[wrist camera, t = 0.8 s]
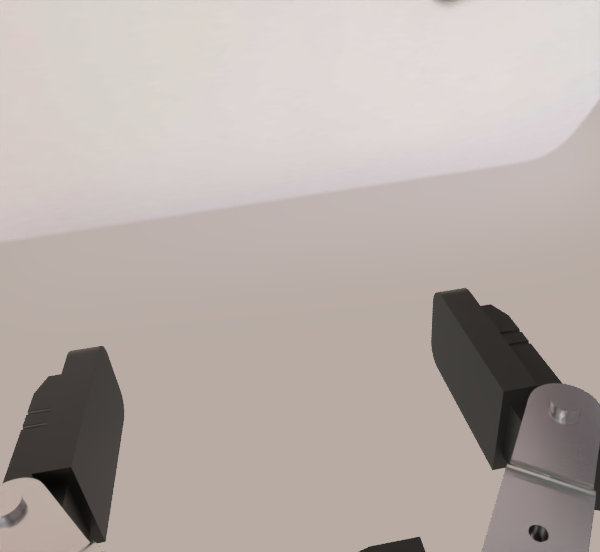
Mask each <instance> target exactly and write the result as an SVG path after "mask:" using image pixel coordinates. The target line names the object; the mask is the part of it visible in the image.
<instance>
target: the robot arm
mask: <svg viewBox="0 0 600 552" xmlns="http://www.w3.org/2000/svg"><path fill="white" fill-rule="evenodd" d="M431 343H432V352H433V357H434V360H435V363H436V365H437V368H438V369H439V371H440V373H441V375H442V377H443V379H444V381H445V382H446V384H447V386H448V388H449V390H450V392H451V394H452V395H453V397H454V399H455V401H456V403H457V405H458V406H459V408H460V410H461V412H462V414H463V416H464V418H465V420H466V421H467V423H468V425H469V427H470V429H471V431H472V433H473V434H474V436H475V438H476V440H477V442H478V444H479V446H480V448H481V449H482V451H483V453H484V455H485V457H486V459H487V460H488V462H489V464H490V466H491V468H492V470H495V469H500V468H506V469H505V473H504V476H503V480H502V483H501V486H500V490H499V493H498V497H497V500H496V504H495V507H494V510H493V514H492V517H491V521H490V524H489V528H488V532H487V535H486V538H485V541H484V545H483V548H482V552H589V544H590V537H591V530H592V522H593V515H594V510H600V404H599V403H598V402H597V400H596V399H595V398H593V396H591V395H590V394H589V393H587V392H585V391H584V390H582V389H579V388H577V387H574V386H571V385H567V384H562V383H561V381H560V380H559V379H558V378H557V376H556V375H555V374H554V372H553V371H552V370H551V369H550V367H549V366H548V365H547V364H546V362H545V361H544V360H543V359H542V357H541V356H540V355H539V354H538V352H537V351H536V350H535V349H534V347H533V346H532V345H531V344H529V343H528V340H527V339H526V337H525V336H524V335H523V333H522V332H520V331H519V328H518V327H517V326H516V325H515V323H514V322H513V321H512V320H511V318H510V317H509V316H508V315H507V314H505V313H504V312H502V311H500V310H499V309H497V308H495V307H494V306H492V305H485V306H480V305H479V303H478V302H477V301H476V299H475V298H474V297H473V295H472V294H471V293H470V291H469V290H468V289H466V288H462V289H457V290H450V291H444V292H438V293H435V295H434V299H433V317H432V340H431ZM123 421H124V405H123V399H122V394H121V391H120V388H119V385H118V383H117V380H116V377H115V374H114V371H113V368H112V366H111V363H110V360H109V357H108V354H107V352H106V350H105V348H104V347H103V346H99V347H93V348H87V349H81V350H74V351H70V352H69V353H68V355H67V358H66V362H65V364H64V368H63V371H62V374H61V375H55V376H49V377H48V378H47V379H46V380H45V381H44V383H43V384H42V385H41V386H40V387H39V389H38V390H37V391H36V392H35V393H34V396H33V398H32V401H31V404H30V407H29V410H28V415H26V418H25V421H24V424H23V430H21V433H20V435H19V438H18V441H17V444H16V447H15V450H14V453H13V456H12V458H11V461H10V464H9V467H8V470H7V473H6V475H5V478H4V482H3V484H1V485H0V552H104V551H103V550H102V549H101V548H100V546H99V545H98V544H97V543H101V542H105V541H106V534H107V528H108V521H109V515H110V508H111V501H112V495H113V488H114V481H115V475H116V468H117V461H118V455H119V448H120V441H121V435H122V428H123ZM360 552H425V550H424V547H423V544H422V541H421V538H420V537H416V538H411V539H406V540H401V541H396V542H391V543H386V544H381V545H376V546H371V547H368V548H366V549H364V550H361V551H360Z"/></svg>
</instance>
